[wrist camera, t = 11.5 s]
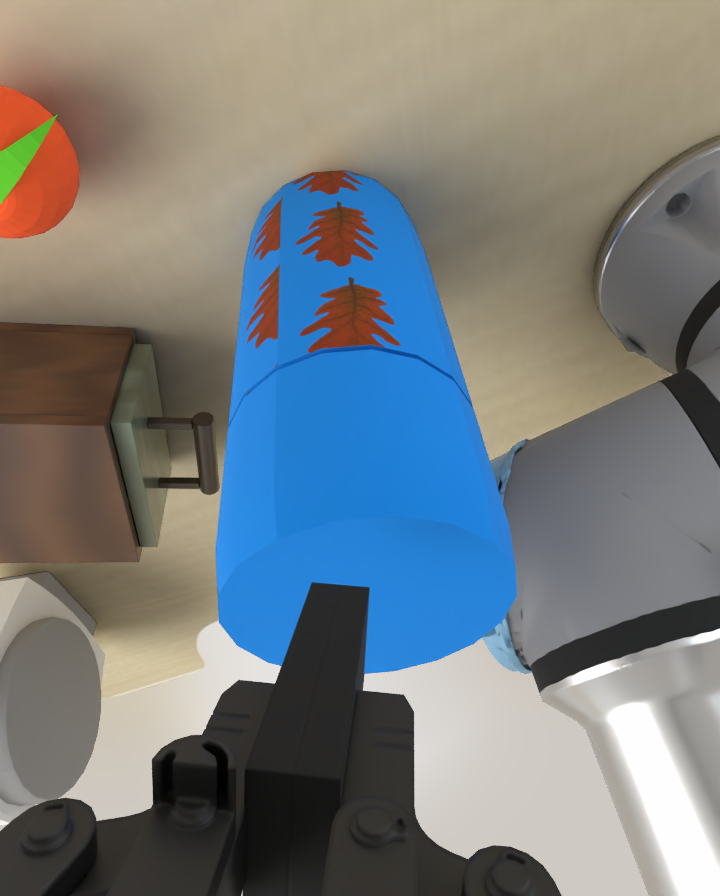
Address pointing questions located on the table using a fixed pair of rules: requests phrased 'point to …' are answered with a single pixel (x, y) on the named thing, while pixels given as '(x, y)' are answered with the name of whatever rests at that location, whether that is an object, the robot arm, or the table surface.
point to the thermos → (354, 438)
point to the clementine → (33, 167)
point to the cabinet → (62, 445)
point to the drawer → (155, 446)
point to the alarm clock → (45, 691)
